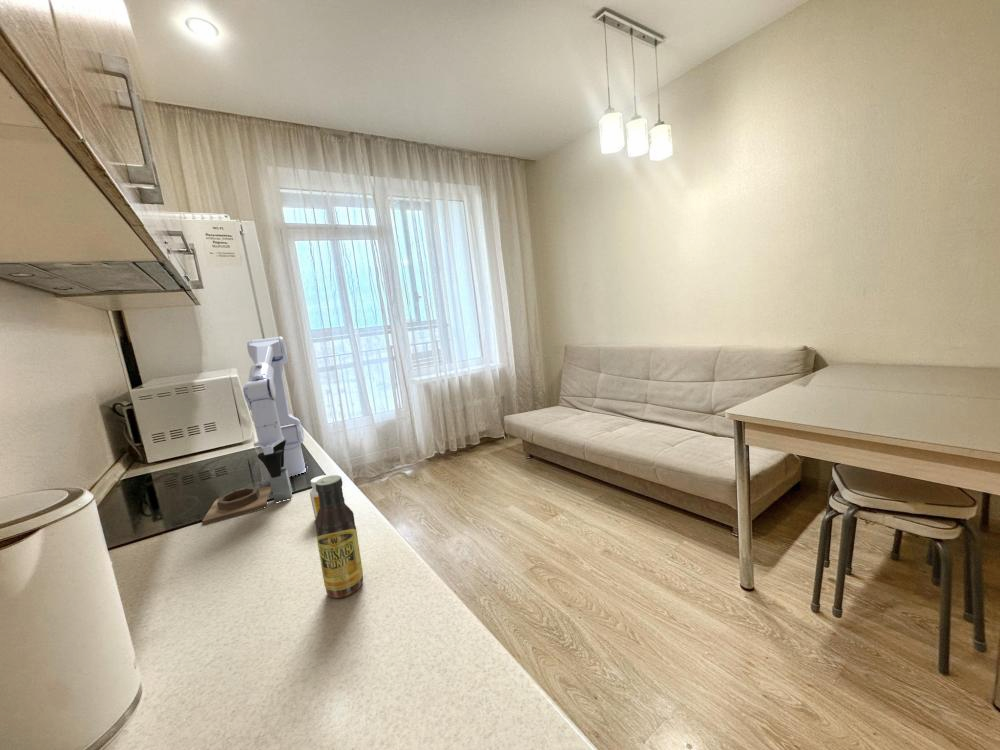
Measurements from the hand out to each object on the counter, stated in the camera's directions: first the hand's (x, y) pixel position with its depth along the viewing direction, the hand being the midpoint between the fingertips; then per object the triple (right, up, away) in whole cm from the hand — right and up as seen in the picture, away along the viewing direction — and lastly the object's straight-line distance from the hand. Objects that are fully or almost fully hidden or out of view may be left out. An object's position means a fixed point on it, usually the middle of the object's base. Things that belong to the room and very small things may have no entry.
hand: (278, 471), depth 106 cm
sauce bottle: (+34, -11, -39) cm, 52 cm away
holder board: (-11, -9, +1) cm, 14 cm away
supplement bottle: (+19, -8, -12) cm, 23 cm away
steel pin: (+1, -8, +1) cm, 8 cm away
